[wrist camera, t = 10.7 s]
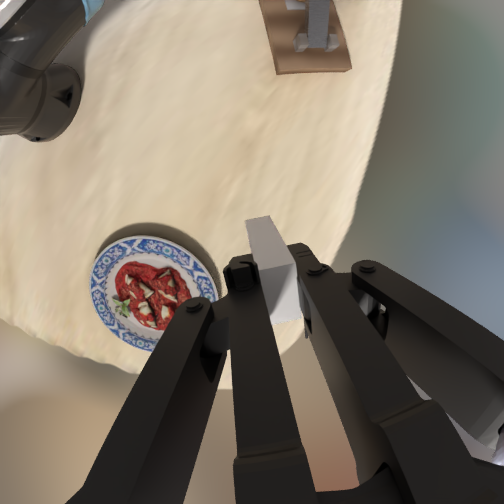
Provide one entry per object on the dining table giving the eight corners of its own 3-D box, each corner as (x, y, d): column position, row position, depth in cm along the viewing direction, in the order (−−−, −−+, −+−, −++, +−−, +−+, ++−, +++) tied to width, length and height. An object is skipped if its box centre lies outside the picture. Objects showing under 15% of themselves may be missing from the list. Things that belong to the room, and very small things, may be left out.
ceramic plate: (216, 229, 45) (215, 235, 42) (222, 347, 55) (222, 357, 52) (81, 234, 43) (74, 239, 40) (110, 343, 53) (106, 351, 50)
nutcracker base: (344, 72, 36) (363, 62, 30) (276, 74, 36) (285, 62, 30) (321, -8, 29) (334, -25, 23) (256, -9, 29) (260, -28, 23)
